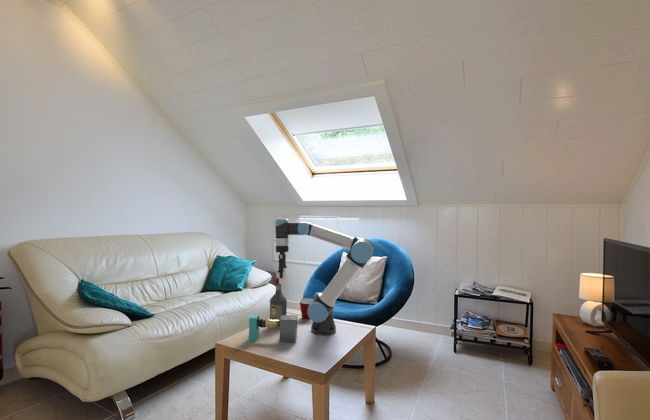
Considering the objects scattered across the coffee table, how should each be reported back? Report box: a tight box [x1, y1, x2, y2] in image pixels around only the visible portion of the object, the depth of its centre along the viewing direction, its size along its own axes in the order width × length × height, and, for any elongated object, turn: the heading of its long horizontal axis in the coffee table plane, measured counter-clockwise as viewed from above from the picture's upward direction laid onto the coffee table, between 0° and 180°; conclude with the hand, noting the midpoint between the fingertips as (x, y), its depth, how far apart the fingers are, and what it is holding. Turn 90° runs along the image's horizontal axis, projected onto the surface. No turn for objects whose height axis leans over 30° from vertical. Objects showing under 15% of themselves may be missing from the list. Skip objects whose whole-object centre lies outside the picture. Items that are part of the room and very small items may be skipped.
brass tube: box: [257, 318, 280, 329], centre depth 194 cm, size 18×5×5 cm, turn 89°
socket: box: [248, 313, 260, 343], centre depth 194 cm, size 4×8×13 cm, turn 179°
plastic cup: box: [298, 298, 314, 320], centre depth 234 cm, size 11×11×12 cm
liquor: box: [269, 277, 288, 329], centre depth 217 cm, size 9×9×30 cm
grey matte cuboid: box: [278, 314, 298, 344], centre depth 194 cm, size 9×8×13 cm
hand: (282, 281), depth 201 cm, fingers open, 13 cm apart
